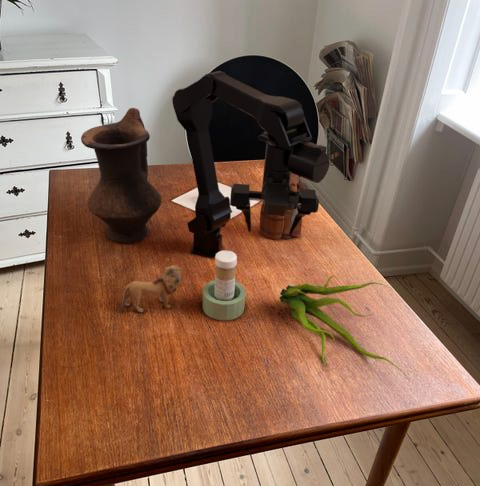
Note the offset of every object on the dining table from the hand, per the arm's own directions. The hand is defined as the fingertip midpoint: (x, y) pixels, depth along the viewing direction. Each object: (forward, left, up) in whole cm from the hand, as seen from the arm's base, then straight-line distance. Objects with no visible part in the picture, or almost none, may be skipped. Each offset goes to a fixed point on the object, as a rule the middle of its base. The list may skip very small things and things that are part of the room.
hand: (269, 232), depth 112 cm
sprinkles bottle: (-6, -13, -13) cm, 20 cm away
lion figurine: (-21, -18, -14) cm, 31 cm away
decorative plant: (+20, -14, -14) cm, 28 cm away
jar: (-6, -13, -13) cm, 20 cm away
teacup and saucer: (-25, +36, -14) cm, 45 cm away
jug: (-40, +8, -14) cm, 43 cm away
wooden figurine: (-2, +24, -14) cm, 27 cm away
